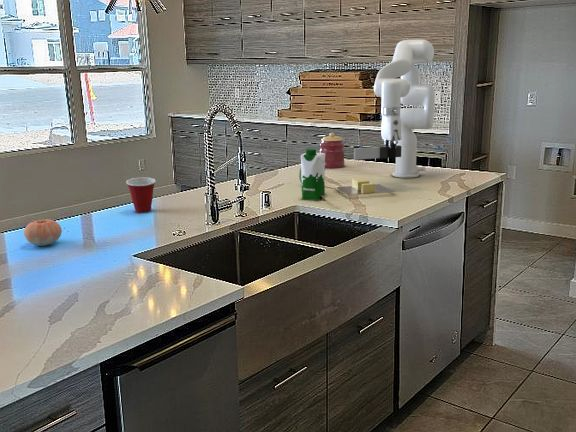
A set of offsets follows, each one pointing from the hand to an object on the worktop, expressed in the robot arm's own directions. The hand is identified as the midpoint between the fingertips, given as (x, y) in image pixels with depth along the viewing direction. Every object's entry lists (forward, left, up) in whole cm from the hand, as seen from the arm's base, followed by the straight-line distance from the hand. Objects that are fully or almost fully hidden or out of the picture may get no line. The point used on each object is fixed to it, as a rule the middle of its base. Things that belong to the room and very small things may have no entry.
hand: (389, 156), depth 241 cm
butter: (+10, -6, -14) cm, 18 cm away
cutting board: (+9, -3, -15) cm, 18 cm away
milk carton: (+32, -1, -15) cm, 36 cm away
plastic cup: (+99, -2, -15) cm, 101 cm away
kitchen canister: (+1, -68, -15) cm, 70 cm away
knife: (+6, 0, 0) cm, 6 cm away
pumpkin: (+130, +31, -15) cm, 135 cm away
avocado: (+27, -25, -15) cm, 40 cm away
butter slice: (+11, +3, -14) cm, 17 cm away
